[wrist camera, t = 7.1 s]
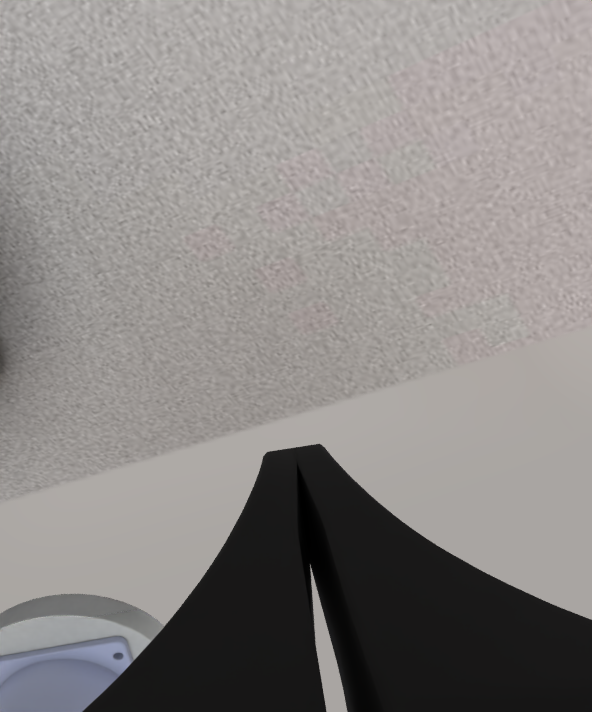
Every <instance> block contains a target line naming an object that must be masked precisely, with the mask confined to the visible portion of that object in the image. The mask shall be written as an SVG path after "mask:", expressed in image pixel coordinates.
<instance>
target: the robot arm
mask: <svg viewBox="0 0 592 712" xmlns="http://www.w3.org/2000/svg"><path fill="white" fill-rule="evenodd" d="M310 565H311V568H312V572H313V576H314V579H315V583H316V587H317V590H318V594H319V598H320V602H321V605H322V609H323V612H324V616H325V620H326V623H327V627H328V631H329V634H330V638H331V642H332V645H333V649H334V652H335V656H336V660H337V664H338V668H339V673H340V676H341V681H342V685H343V690H344V695H345V700H346V706H347V711H348V712H592V620H590V619H588V618H585V617H583V616H580V615H578V614H575V613H572V612H570V611H567V610H565V609H562V608H560V607H557V606H555V605H552V604H550V603H548V602H546V601H543V600H541V599H539V598H537V597H535V596H533V595H530V594H528V593H526V592H524V591H522V590H519V589H517V588H515V587H513V586H511V585H508V584H506V583H505V582H503V581H501V580H498V579H497V578H495V577H493V576H490V575H488V574H486V573H485V572H483V571H481V570H479V569H477V568H475V567H473V566H472V565H470V564H468V563H466V562H465V561H463V560H461V559H459V558H458V557H456V556H454V555H452V554H450V553H449V552H447V551H445V550H444V549H442V548H440V547H438V546H437V545H435V544H434V543H432V542H431V541H429V540H427V539H426V538H425V537H423V536H422V535H420V534H419V533H417V532H416V531H414V530H413V529H412V528H410V527H409V526H407V525H406V524H405V523H403V522H402V521H401V520H399V519H398V518H397V517H396V516H394V515H393V514H392V513H391V512H389V511H388V510H387V509H386V508H384V507H383V506H382V505H381V504H380V503H378V502H377V501H376V500H375V499H374V498H373V497H371V496H370V495H369V494H368V493H367V492H366V491H365V490H364V489H363V488H362V487H361V486H360V485H359V484H358V483H357V482H355V481H354V480H353V479H352V478H351V477H350V476H349V475H348V474H347V473H346V472H345V471H344V470H343V468H342V467H341V466H340V465H339V464H338V463H337V462H336V461H335V460H334V459H333V457H332V456H331V455H330V454H329V453H328V451H327V450H326V449H325V448H324V447H323V446H322V445H320V444H316V445H309V446H303V447H296V448H291V449H283V450H277V451H270V452H267V453H266V454H265V455H264V457H263V461H262V465H261V468H260V471H259V474H258V477H257V479H256V482H255V484H254V487H253V489H252V491H251V494H250V496H249V498H248V500H247V503H246V505H245V507H244V509H243V511H242V513H241V515H240V517H239V519H238V521H237V522H236V524H235V526H234V528H233V530H232V532H231V533H230V536H229V537H228V539H227V541H226V543H225V544H224V546H223V547H222V549H221V551H220V552H219V554H218V555H217V557H216V558H215V560H214V562H213V563H212V565H211V566H210V568H209V569H208V570H207V572H206V573H205V575H204V576H203V578H202V579H201V581H200V582H199V583H198V585H197V586H196V587H195V589H194V590H193V591H192V593H191V594H190V595H189V596H188V598H187V599H186V600H185V602H184V603H183V604H182V606H181V607H180V608H179V610H178V611H177V612H176V613H175V614H174V616H173V617H172V618H171V619H170V621H169V622H168V623H167V624H166V625H165V627H164V628H163V629H162V630H161V631H160V632H159V633H158V634H157V636H156V637H155V638H154V639H153V640H152V641H151V642H150V643H149V644H148V645H147V647H146V648H145V649H144V650H143V651H142V652H141V653H140V654H139V655H138V656H137V658H136V659H135V660H133V657H132V654H131V651H130V648H129V645H128V642H127V640H126V639H125V638H124V637H121V636H114V637H108V638H103V639H97V640H91V641H85V642H80V643H74V644H68V645H62V646H57V647H51V648H45V649H39V650H34V651H28V652H22V653H16V654H11V655H5V656H0V712H326V706H325V700H324V694H323V688H322V682H321V676H320V670H319V663H318V658H317V651H316V645H315V631H314V615H313V602H312V601H313V600H312V587H311V572H310Z"/></svg>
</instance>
